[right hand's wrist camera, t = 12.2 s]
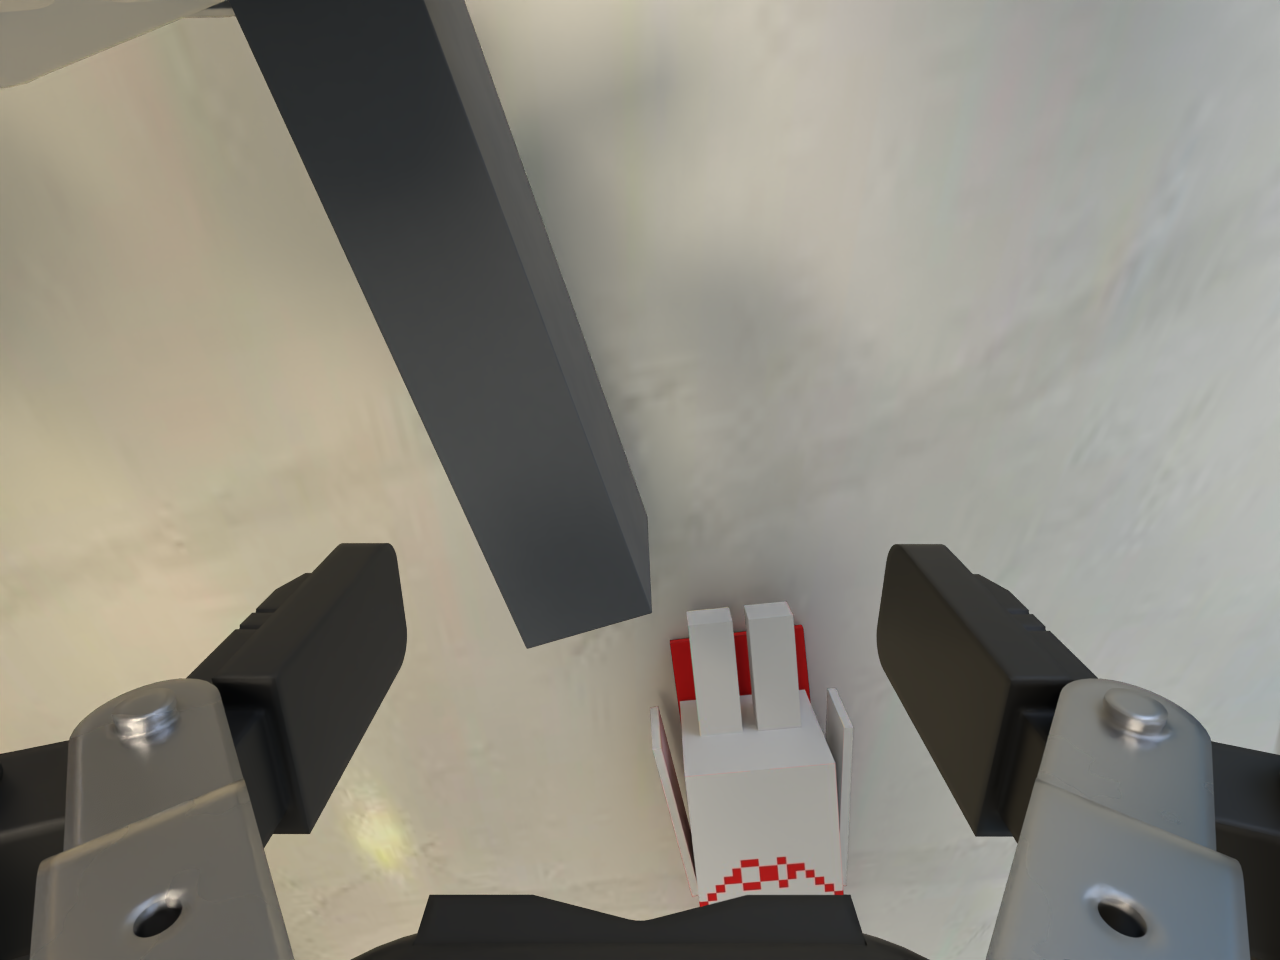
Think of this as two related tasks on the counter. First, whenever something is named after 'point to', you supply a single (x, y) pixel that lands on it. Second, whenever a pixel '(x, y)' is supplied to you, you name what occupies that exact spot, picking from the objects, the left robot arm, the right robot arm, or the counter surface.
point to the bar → (464, 293)
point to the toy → (755, 761)
